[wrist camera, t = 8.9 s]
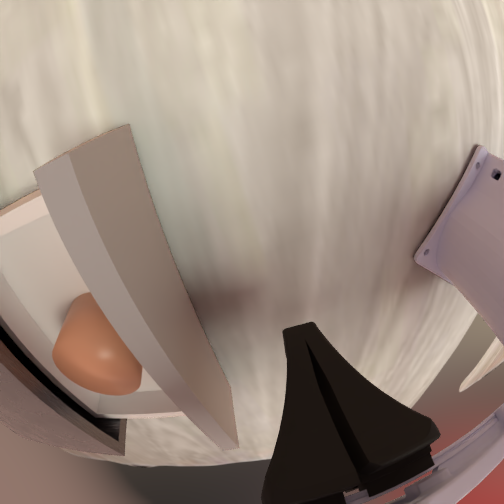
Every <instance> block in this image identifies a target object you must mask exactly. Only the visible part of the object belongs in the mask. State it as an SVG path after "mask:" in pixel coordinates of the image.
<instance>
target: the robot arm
mask: <svg viewBox="0 0 504 504" xmlns="http://www.w3.org/2000/svg"><path fill="white" fill-rule="evenodd" d="M414 261H415V262H416V263H417V264H419V265H420V266H422V267H424V268H426V269H427V270H429V271H431V272H432V273H434V274H436V275H437V276H439V277H441V278H442V279H444V280H446V281H447V282H449V283H451V284H452V285H454V286H455V287H456V288H457V289H458V290H459V291H460V292H461V293H462V294H463V296H464V297H465V298H466V299H467V300H468V301H469V302H470V304H471V305H472V306H473V307H474V308H475V310H476V311H477V312H478V313H479V314H480V316H481V317H482V318H483V319H484V321H485V322H486V323H487V324H488V326H489V327H490V328H491V329H492V331H493V332H494V333H495V335H496V336H497V337H498V339H499V340H500V341H501V343H502V344H503V345H504V160H502V159H500V158H498V157H496V156H494V155H492V154H490V153H488V151H487V149H486V148H485V147H484V146H482V145H479V146H478V147H477V149H476V151H475V153H474V155H473V157H472V159H471V161H470V163H469V165H468V167H467V169H466V171H465V173H464V175H463V177H462V179H461V181H460V182H459V184H458V186H457V188H456V190H455V192H454V193H453V195H452V197H451V199H450V200H449V202H448V204H447V205H446V207H445V209H444V210H443V212H442V214H441V215H440V217H439V219H438V220H437V222H436V223H435V225H434V226H433V228H432V230H431V231H430V233H429V234H428V236H427V237H426V239H425V240H424V242H423V243H422V245H421V246H420V248H419V249H418V250H417V252H416V253H415V255H414ZM283 339H284V346H285V353H286V358H287V382H286V394H285V402H284V409H283V415H282V420H281V425H280V430H279V434H278V438H277V442H276V445H275V449H274V453H273V456H272V459H271V462H270V465H269V467H268V470H267V473H266V476H265V481H264V485H263V490H262V496H261V500H262V504H362V503H365V502H367V501H370V500H372V499H375V498H377V497H379V496H382V495H384V494H386V493H388V492H390V491H393V490H395V489H397V488H399V487H401V486H403V485H405V484H407V483H409V482H411V481H413V480H415V479H416V478H418V477H420V476H422V475H424V474H425V473H427V472H429V471H431V470H432V469H433V471H432V474H431V475H429V476H426V477H424V478H422V479H420V480H419V481H417V482H415V483H413V484H412V485H410V486H408V487H406V488H405V489H404V491H405V495H403V496H401V497H399V498H397V499H395V500H392V501H390V502H388V503H385V504H456V503H457V502H458V501H460V500H461V499H462V498H463V497H464V496H466V495H467V494H468V493H469V492H470V491H471V490H472V489H473V488H475V486H477V485H478V484H479V483H480V482H481V481H482V480H483V479H484V478H485V477H486V476H487V475H488V474H489V473H490V472H491V471H492V470H493V469H494V468H495V467H496V466H497V465H498V464H499V463H500V462H501V460H502V459H503V458H504V403H503V404H502V405H501V406H500V407H499V408H498V409H497V410H495V412H493V413H492V414H491V415H490V416H489V417H487V418H486V419H485V420H484V421H482V422H481V423H480V424H479V425H478V426H477V427H475V428H474V429H473V430H472V431H470V432H469V433H467V434H466V435H465V436H463V437H462V438H460V439H459V440H458V441H456V442H455V443H453V444H452V445H450V446H449V447H447V448H445V449H444V450H442V451H441V452H439V453H438V454H436V455H434V456H433V457H431V455H430V452H431V447H430V444H431V443H433V442H434V441H435V440H437V439H438V438H439V437H440V435H441V434H440V432H439V430H438V428H437V427H436V425H435V424H434V422H433V421H432V420H431V419H430V418H429V417H426V416H424V415H422V414H420V413H418V412H416V411H413V410H412V409H410V408H408V407H406V406H405V405H403V404H401V403H400V402H398V401H396V400H395V399H393V398H392V397H390V396H389V395H387V394H385V393H384V392H383V391H381V390H380V389H378V388H377V387H376V386H374V385H373V384H372V383H371V382H369V381H368V380H367V379H366V378H365V377H363V376H362V375H361V374H360V373H359V372H358V371H357V370H356V369H354V368H353V367H352V366H351V365H350V364H349V363H348V362H347V361H346V360H345V359H344V358H343V357H342V356H341V355H340V354H339V352H338V351H337V350H336V349H335V348H334V347H333V346H332V345H331V344H330V342H329V341H328V340H327V339H326V338H325V336H324V335H323V334H322V333H321V331H320V330H319V329H318V327H317V326H316V324H315V323H314V322H309V323H305V324H301V325H298V326H294V327H290V328H286V329H284V330H283ZM358 488H359V491H360V492H357V493H355V494H352V495H349V496H346V497H344V495H343V492H344V491H345V492H346V493H347V492H350V491H352V490H355V489H358Z"/></svg>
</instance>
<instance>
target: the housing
mask: <svg viewBox="0 0 504 504" xmlns="http://www.w3.org/2000/svg"><path fill="white" fill-rule="evenodd" d="M0 422H1V423H2V424H3V425H5V426H6V427H8V428H9V429H10V430H12V431H13V432H15V433H16V434H18V435H19V436H21V437H22V438H25V439H28V440H32V441H36V442H40V443H44V444H48V445H52V446H57V447H62V448H67V449H72V450H78V451H84V452H91V453H99V454H108V455H119V456H125V438H126V424H127V418H95V417H94V416H92V415H91V414H90V413H89V412H87V411H86V410H85V409H83V408H82V407H81V406H80V405H78V404H77V403H76V402H75V401H74V400H72V399H71V398H70V397H69V396H68V395H67V394H65V393H64V392H55V391H50V390H48V389H47V388H46V387H45V386H44V385H43V384H42V383H41V382H40V381H39V380H38V379H36V378H35V377H34V376H33V375H32V374H31V373H30V372H29V371H28V370H27V369H26V368H25V367H24V366H23V365H22V364H21V363H20V361H19V360H18V359H17V358H16V357H15V356H14V355H13V354H12V353H11V352H10V351H9V349H8V348H7V347H6V346H5V345H4V344H3V343H2V341H1V340H0Z"/></svg>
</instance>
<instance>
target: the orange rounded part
mask: <svg viewBox="0 0 504 504" xmlns="http://www.w3.org/2000/svg"><path fill="white" fill-rule="evenodd" d="M52 358H53V361H54V363H55V365H56V367H57V368H58V369H59V370H60V372H61V373H62V374H63V375H65V376H66V377H67V378H68V379H70V380H71V381H72V382H74V383H76V384H77V385H79V386H81V387H83V388H85V389H88V390H90V391H93V392H96V393H100V394H105V395H114V396H120V395H127V394H131V393H133V392H135V391H136V390H138V388H139V387H140V385H141V378H142V369H143V366H142V365H141V364H140V363H139V361H138V360H137V359H136V358H135V356H134V355H133V354H132V352H131V351H130V350H129V348H128V347H127V346H126V344H125V343H124V342H123V340H122V339H121V338H120V336H119V335H118V333H117V332H116V331H115V329H114V328H113V326H112V325H111V323H110V322H109V320H108V319H107V317H106V316H105V314H104V313H103V311H102V310H101V308H100V307H99V305H98V304H97V302H96V300H95V299H94V297H93V296H92V294H91V292H88V293H84V294H81V295H80V296H78V297H77V298H75V300H74V301H73V302H72V304H71V306H70V309H69V311H68V313H67V316H66V318H65V320H64V323H63V325H62V327H61V330H60V332H59V335H58V338H57V340H56V343H55V345H54V348H53V351H52Z"/></svg>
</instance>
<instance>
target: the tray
mask: <svg viewBox="0 0 504 504" xmlns="http://www.w3.org/2000/svg"><path fill="white" fill-rule="evenodd" d="M33 173H34V176H35V178H36V181H37V184H38V186H39V190H37V191H35V192H33V193H31V194H29V195H27V196H25V197H23V198H21V199H20V200H18V201H16V202H14V203H12V204H11V205H9V206H7V207H5V208H4V209H2V210H0V325H1V326H2V327H3V329H4V330H5V331H6V332H7V334H8V335H9V336H10V337H11V338H12V340H13V341H14V342H15V343H16V344H17V345H18V347H19V348H20V349H21V350H22V351H23V352H24V353H25V354H26V356H27V357H28V358H29V359H30V360H31V361H32V362H33V363H34V364H35V365H36V366H37V367H38V368H39V369H40V370H41V371H42V372H43V373H44V374H45V375H46V376H47V377H48V378H49V379H50V380H51V381H52V382H53V383H54V384H55V385H56V386H58V387H59V388H60V389H61V390H62V391H63V392H64V393H65V394H67V395H68V396H69V397H70V398H71V399H72V400H74V401H75V402H76V403H77V404H78V405H80V406H81V407H82V408H83V409H85V410H86V411H87V412H89V413H90V414H91V415H92V416H94V417H95V418H158V417H174V416H185V415H186V416H187V417H188V418H189V419H190V420H191V421H192V422H193V423H194V424H195V425H196V426H197V427H198V428H199V429H200V430H201V431H202V432H203V433H204V434H205V435H206V436H208V437H209V438H210V439H211V440H212V441H213V442H214V443H215V444H216V445H217V446H218V447H220V448H221V449H222V450H231V449H238V448H239V443H238V436H237V429H236V422H235V415H234V408H233V400H232V393H231V387H230V385H229V383H228V381H227V379H226V377H225V375H224V373H223V371H222V369H221V367H220V365H219V363H218V361H217V358H216V356H215V354H214V352H213V350H212V348H211V346H210V344H209V342H208V339H207V337H206V335H205V333H204V331H203V328H202V326H201V324H200V322H199V319H198V317H197V315H196V313H195V310H194V308H193V306H192V303H191V301H190V299H189V296H188V294H187V292H186V289H185V287H184V284H183V282H182V279H181V277H180V274H179V272H178V269H177V267H176V264H175V262H174V259H173V257H172V254H171V251H170V249H169V246H168V243H167V241H166V238H165V235H164V232H163V230H162V227H161V224H160V221H159V218H158V216H157V213H156V210H155V207H154V204H153V201H152V198H151V195H150V192H149V189H148V186H147V183H146V179H145V176H144V173H143V170H142V167H141V163H140V160H139V157H138V153H137V150H136V146H135V143H134V139H133V135H132V132H131V128H130V124H128V125H125V126H122V127H119V128H117V129H114V130H111V131H109V132H106V133H104V134H102V135H99V136H97V137H95V138H93V139H91V140H89V141H87V142H85V143H83V144H81V145H79V146H77V147H75V148H73V149H71V150H69V151H67V152H65V153H63V154H61V155H60V156H58V157H56V158H54V159H53V160H51V161H49V162H47V163H46V164H44V165H42V166H41V167H39V168H37V169H36V170H34V171H33ZM88 292H91V294H92V296H93V297H94V299H95V300H96V302H97V304H98V305H99V307H100V308H101V310H102V311H103V313H104V314H105V316H106V317H107V319H108V320H109V322H110V323H111V325H112V326H113V328H114V329H115V331H116V332H117V333H118V335H119V336H120V338H121V339H122V340H123V342H124V343H125V344H126V346H127V347H128V348H129V350H130V351H131V352H132V354H133V355H134V356H135V358H136V359H137V360H138V361H139V363H140V364H141V365H142V366H143V369H142V378H141V385H140V387H139V388H138V390H136V391H135V392H133V393H131V394H127V395H120V396H114V395H105V394H100V393H96V392H93V391H90V390H88V389H85V388H83V387H81V386H79V385H77V384H76V383H74V382H72V381H71V380H70V379H68V378H67V377H66V376H65V375H63V374H62V373H61V372H60V370H59V369H58V368H57V367H56V365H55V363H54V361H53V358H52V351H53V348H54V345H55V343H56V340H57V338H58V335H59V332H60V330H61V327H62V325H63V323H64V320H65V318H66V316H67V313H68V311H69V309H70V306H71V304H72V302H73V301H74V300H75V298H77V297H78V296H80V295H81V294H84V293H88Z"/></svg>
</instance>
